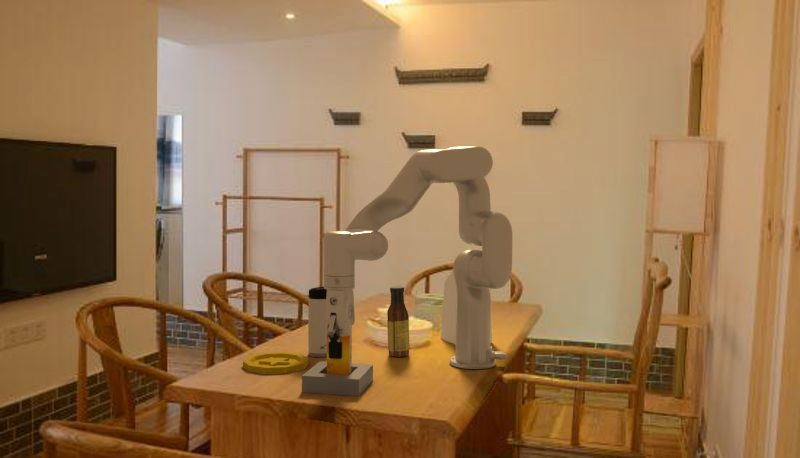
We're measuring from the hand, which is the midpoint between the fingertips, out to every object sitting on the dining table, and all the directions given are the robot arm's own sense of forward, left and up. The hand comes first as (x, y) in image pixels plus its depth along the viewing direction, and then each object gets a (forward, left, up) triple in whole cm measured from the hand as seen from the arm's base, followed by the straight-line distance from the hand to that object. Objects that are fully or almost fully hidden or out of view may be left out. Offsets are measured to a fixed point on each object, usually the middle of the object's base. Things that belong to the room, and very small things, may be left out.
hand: (339, 354), depth 179 cm
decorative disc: (+22, -15, -8) cm, 28 cm away
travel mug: (+14, -29, -8) cm, 33 cm away
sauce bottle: (-8, -34, -8) cm, 36 cm away
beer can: (0, 0, -7) cm, 7 cm away
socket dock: (0, 0, -8) cm, 8 cm away
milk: (-25, -58, -8) cm, 63 cm away
